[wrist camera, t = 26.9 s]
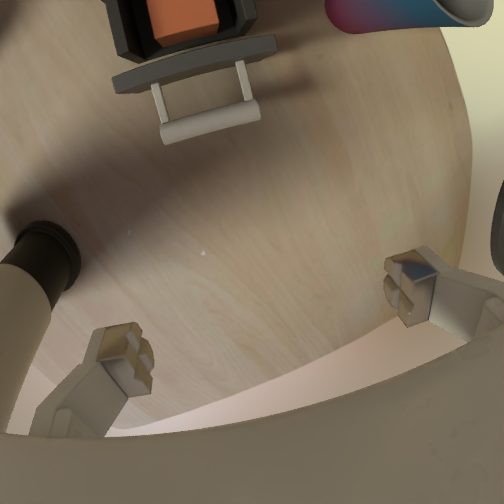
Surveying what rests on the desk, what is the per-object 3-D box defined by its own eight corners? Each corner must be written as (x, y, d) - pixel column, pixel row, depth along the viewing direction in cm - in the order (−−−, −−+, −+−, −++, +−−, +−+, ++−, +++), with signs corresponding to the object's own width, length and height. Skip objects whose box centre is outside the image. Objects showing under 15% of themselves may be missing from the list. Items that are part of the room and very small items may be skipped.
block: (206, -11, 18) (207, -29, 15) (217, 34, 21) (219, 22, 17) (152, 2, 18) (143, -13, 14) (162, 47, 20) (154, 39, 17)
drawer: (270, 111, 25) (293, 118, 19) (152, 142, 25) (135, 160, 19) (225, -64, 16) (232, -104, 10) (108, -33, 16) (82, -64, 10)
